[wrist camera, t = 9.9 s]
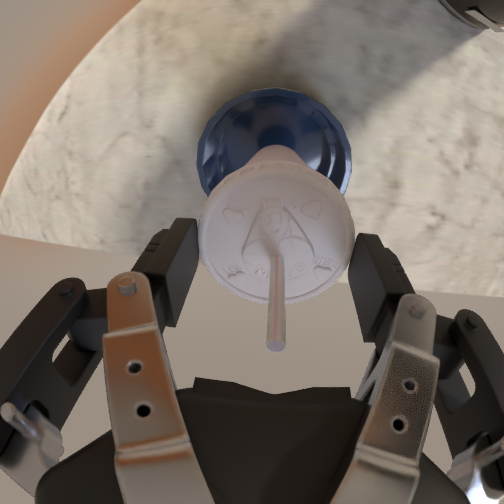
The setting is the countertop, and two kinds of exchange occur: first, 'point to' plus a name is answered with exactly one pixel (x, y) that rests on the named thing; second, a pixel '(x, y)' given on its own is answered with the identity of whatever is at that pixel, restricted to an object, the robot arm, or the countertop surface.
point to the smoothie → (276, 234)
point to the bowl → (273, 135)
